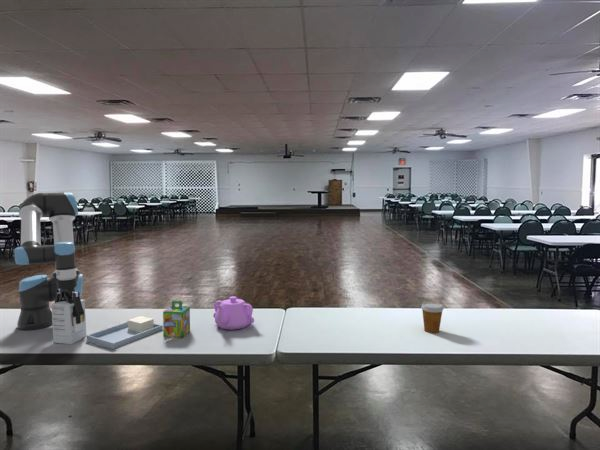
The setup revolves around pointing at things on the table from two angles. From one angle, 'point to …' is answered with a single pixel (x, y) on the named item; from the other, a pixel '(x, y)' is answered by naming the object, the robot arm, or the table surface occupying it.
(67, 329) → the supplement box
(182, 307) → the chalk box
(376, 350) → the table surface
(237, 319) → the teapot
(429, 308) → the disposable coffee cup
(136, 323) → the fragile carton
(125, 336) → the blue-grey tray
